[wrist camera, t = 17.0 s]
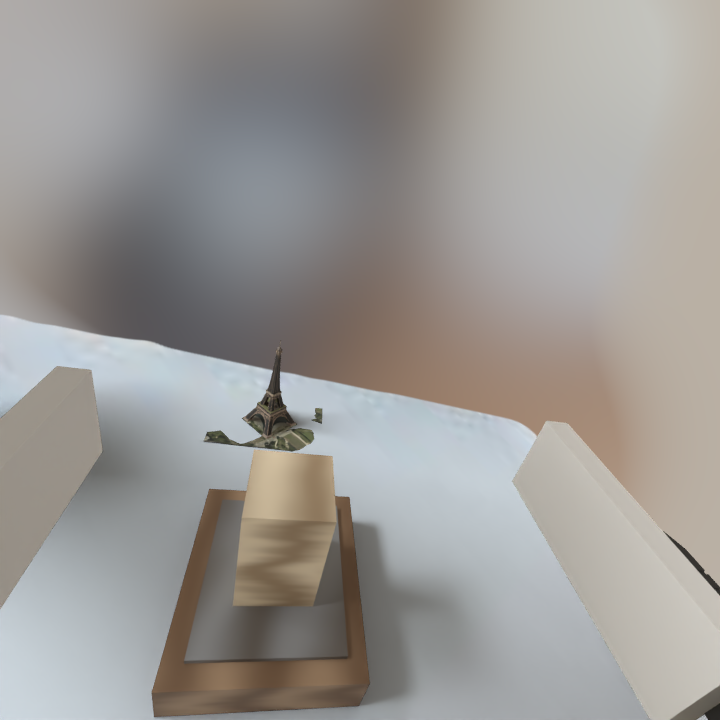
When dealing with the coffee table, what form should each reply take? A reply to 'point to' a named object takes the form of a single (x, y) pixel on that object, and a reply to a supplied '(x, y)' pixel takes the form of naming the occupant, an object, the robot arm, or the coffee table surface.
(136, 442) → the coffee table surface
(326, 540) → the oak block
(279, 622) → the walnut frame
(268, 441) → the eiffel tower figurine
